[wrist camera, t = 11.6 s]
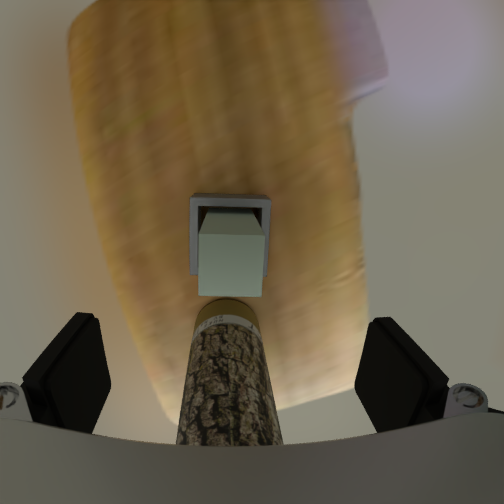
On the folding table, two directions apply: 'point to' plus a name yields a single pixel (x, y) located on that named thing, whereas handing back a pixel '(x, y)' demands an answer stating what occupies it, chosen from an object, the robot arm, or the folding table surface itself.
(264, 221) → the socket block
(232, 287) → the peg
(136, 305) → the folding table surface
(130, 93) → the folding table surface
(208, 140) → the folding table surface
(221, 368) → the bark log chew toy
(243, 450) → the robot arm
